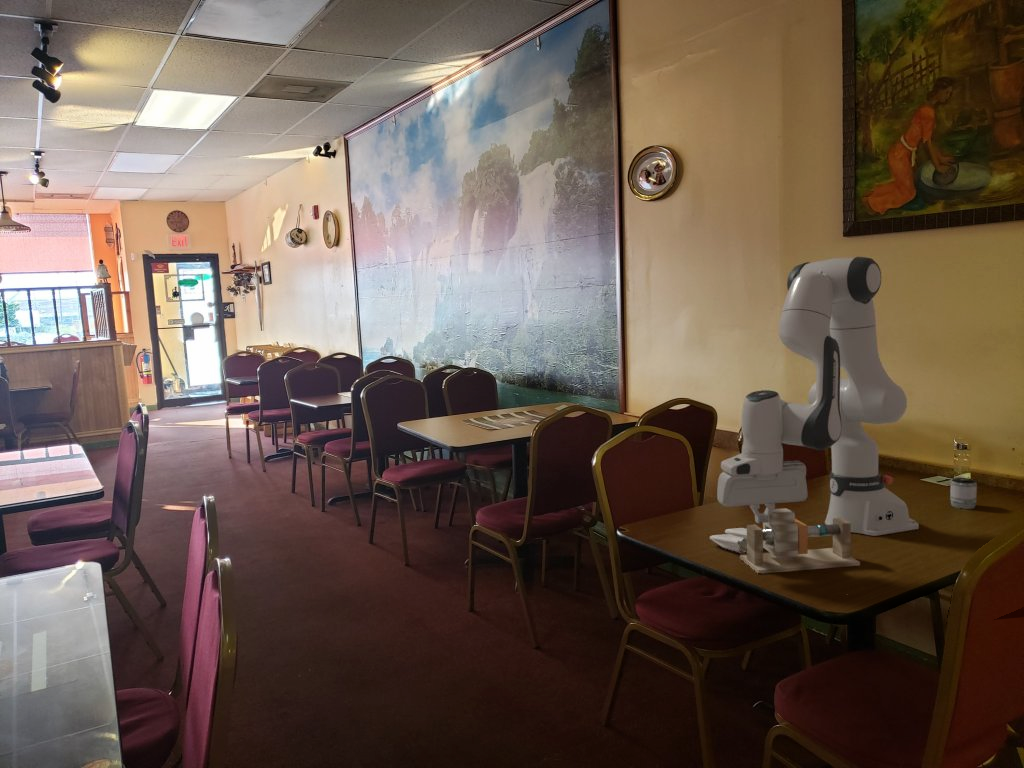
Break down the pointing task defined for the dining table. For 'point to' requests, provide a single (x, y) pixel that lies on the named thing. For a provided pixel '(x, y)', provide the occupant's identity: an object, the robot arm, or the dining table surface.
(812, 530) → the pipe
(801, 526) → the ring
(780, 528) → the sleeve
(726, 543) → the pair of white wedges
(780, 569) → the stand
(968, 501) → the grey cylinder
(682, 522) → the dining table surface
